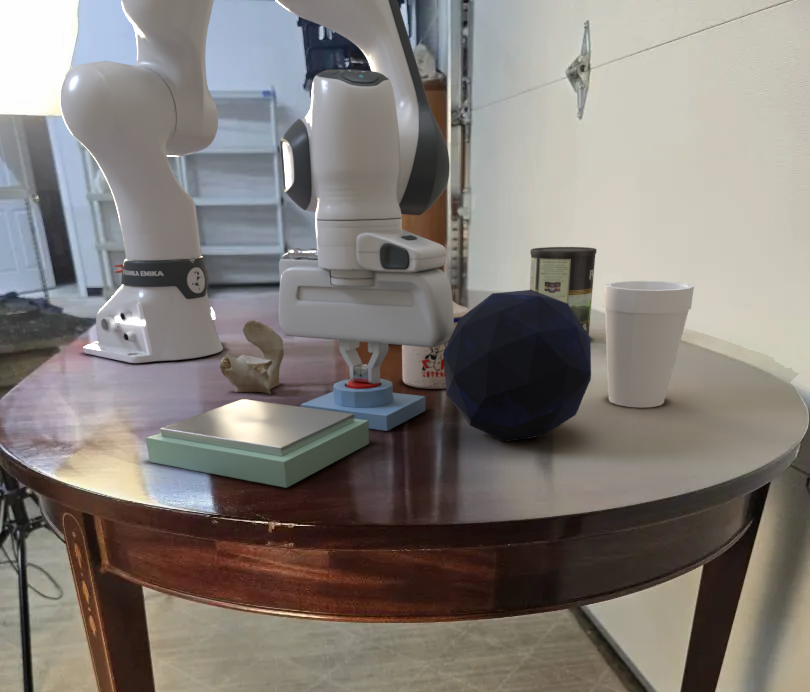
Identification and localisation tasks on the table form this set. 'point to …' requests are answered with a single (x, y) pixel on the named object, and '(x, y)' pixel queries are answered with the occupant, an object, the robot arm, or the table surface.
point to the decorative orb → (518, 365)
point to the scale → (259, 441)
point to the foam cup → (643, 338)
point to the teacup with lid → (427, 361)
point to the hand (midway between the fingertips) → (365, 381)
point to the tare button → (361, 385)
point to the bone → (256, 361)
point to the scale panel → (371, 404)
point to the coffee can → (565, 277)
